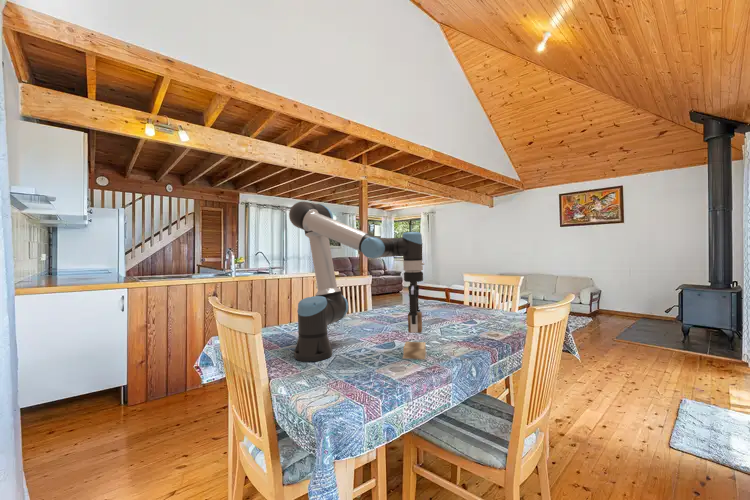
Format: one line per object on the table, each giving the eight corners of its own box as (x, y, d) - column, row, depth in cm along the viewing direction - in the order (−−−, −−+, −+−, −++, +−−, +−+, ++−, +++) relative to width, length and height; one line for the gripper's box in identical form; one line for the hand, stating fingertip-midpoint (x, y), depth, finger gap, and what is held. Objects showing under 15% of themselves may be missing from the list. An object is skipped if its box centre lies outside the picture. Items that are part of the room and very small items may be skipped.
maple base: (403, 358, 125) (403, 347, 125) (405, 351, 133) (405, 341, 133) (424, 359, 123) (424, 348, 123) (425, 352, 131) (425, 342, 131)
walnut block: (408, 332, 126) (407, 314, 126) (409, 329, 131) (409, 312, 131) (421, 332, 125) (420, 314, 125) (422, 329, 130) (421, 312, 130)
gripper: (421, 273, 118) (423, 336, 118) (424, 269, 136) (425, 325, 136) (400, 273, 120) (402, 336, 120) (406, 269, 137) (407, 324, 137)
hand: (414, 330), depth 128 cm, fingers closed on walnut block, 5 cm apart
